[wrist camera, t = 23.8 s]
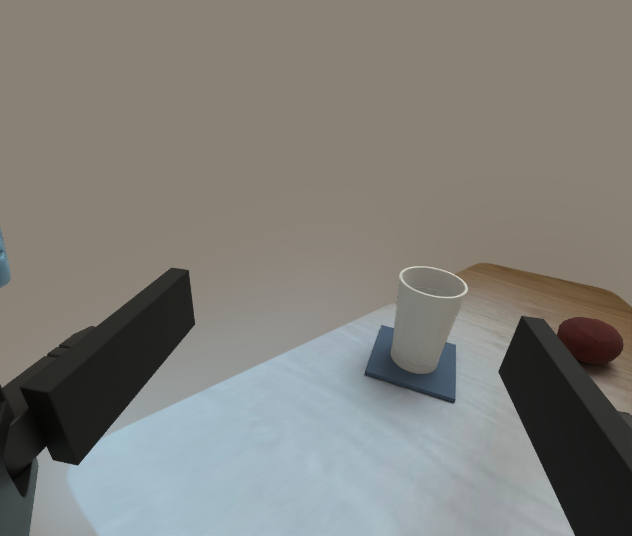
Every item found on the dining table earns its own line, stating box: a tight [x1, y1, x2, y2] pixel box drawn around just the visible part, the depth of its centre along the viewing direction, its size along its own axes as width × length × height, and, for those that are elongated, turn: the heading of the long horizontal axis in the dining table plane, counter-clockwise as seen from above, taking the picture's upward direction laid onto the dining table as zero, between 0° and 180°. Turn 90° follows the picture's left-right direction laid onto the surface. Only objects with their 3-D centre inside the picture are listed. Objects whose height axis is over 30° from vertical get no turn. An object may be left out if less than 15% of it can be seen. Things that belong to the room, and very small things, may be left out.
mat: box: [365, 325, 456, 402], centre depth 46 cm, size 11×11×1 cm
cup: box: [391, 266, 468, 374], centre depth 43 cm, size 8×8×12 cm
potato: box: [557, 317, 623, 365], centre depth 48 cm, size 7×8×6 cm
